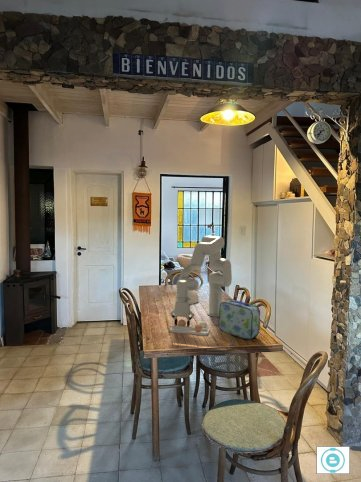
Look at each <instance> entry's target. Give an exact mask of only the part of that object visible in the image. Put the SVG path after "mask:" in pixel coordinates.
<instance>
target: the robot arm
mask: <svg viewBox="0 0 361 482" xmlns="http://www.w3.org/2000/svg"><path fill="white" fill-rule="evenodd" d="M224 246H225V240H224V238H223V237H222V236H216V235H204V236H202V238H201V241H200V242H197V243H196V244H195V245H194V249H193V251H192V252H193V253H192V255H191V258H190V261H189V262H188V264H187V265H185V266H184V268H182V270H181V272H180V273H179V277H178V280H177V281H176V294H177V300H176V301H174V309H173V310H172V311H170V313H169V315H170V316H171V317H172V319H173V321H174V326H178V318H179V317H180V318H186V320H187V321H186V327H190V324H191V320H192V319H193V318H194V317H195V313H193V312H192V311H191V304H190V302H189V301H188V300H190V298H189V297H188V291H191V290H196V289H197V288H198V289H199V285H200V283H199V281H198V280H197V279H195V278H189V277H188V276H189V275H190V273H191V272H192V271H193V272H194V271H195V270H198V269H200V268H202V267H203V264H204V261H205V257H206V256H208V257H209V268H210V270H212V271H213V272H211V273H209V275H208V278H207V279H208V285H209V287H208V288H209V292H208V293H209V299H208V301H209V303H208V307H209V308H208V311H207V312H206V315H207V316H210V317H214V318H215V317H217V318H219V308H220V304H221V303H222V302H223V289H222V287H224V288H226V287H227V288H228V287H230V286H231V285H232V282H233V281H232V280H233V279H232V278H233V277H232V263H231V261H230V260H229V259H227V258H222V254H221V250H222V249H223V248H224ZM198 289H197V290H198ZM197 290H196V291H197Z"/></svg>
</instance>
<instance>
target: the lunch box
mask: <svg viewBox="0 0 361 482" xmlns="http://www.w3.org/2000/svg"><path fill="white" fill-rule="evenodd" d="M260 318H261V309H260V308H259V306H256V305H254V304H252V303H251V304H250V303H247V302H243V301H241V300H236V299H231V298H230V299H228V300H224V301H222V303H221V304H220V308H219V317H218V327H219V330H220V331H222V332H225V333H228V334H230V335H232V336H234V337H238V338H241V339H244V340H252V339H253V338H257V337H258V335H259V333H260V330H261V321H260V320H261V319H260Z"/></svg>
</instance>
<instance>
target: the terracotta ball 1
mask: <svg viewBox="0 0 361 482" xmlns="http://www.w3.org/2000/svg"><path fill="white" fill-rule="evenodd" d="M177 326H184V327H186V326H187V321H186V320H185V319H179V321H177Z"/></svg>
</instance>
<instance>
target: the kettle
mask: <svg viewBox="0 0 361 482" xmlns="http://www.w3.org/2000/svg"><path fill="white" fill-rule="evenodd" d="M198 289H199V287H198V288H197V289H196V290H191V291H188V297H189V298H190V300H188V301H189V302H190V305H194V303H195V304H197V302H198V303H199V300H200V299H199V295H198V292H197V290H198ZM174 299H175V300H174V302H176V300H177V293H176V294H175V298H174Z"/></svg>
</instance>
